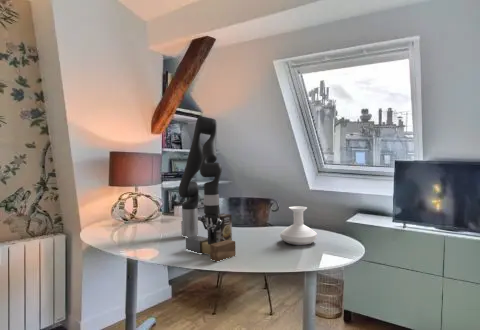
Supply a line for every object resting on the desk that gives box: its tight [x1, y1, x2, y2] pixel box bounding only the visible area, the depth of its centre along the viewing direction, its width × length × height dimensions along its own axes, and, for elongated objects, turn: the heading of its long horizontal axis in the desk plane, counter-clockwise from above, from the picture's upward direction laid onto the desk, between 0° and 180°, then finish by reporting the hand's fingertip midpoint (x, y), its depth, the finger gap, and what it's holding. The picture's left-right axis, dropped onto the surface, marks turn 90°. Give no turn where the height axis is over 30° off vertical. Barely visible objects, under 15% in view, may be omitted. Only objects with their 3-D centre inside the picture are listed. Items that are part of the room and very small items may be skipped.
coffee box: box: [214, 213, 233, 243], centre depth 185 cm, size 9×6×16 cm
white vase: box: [279, 205, 318, 246], centre depth 186 cm, size 20×20×19 cm
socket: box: [209, 240, 236, 262], centre depth 160 cm, size 5×12×7 cm, turn 139°
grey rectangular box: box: [185, 235, 208, 253], centre depth 172 cm, size 11×7×7 cm, turn 49°
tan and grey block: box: [201, 228, 217, 256], centre depth 167 cm, size 15×5×12 cm, turn 49°
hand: (212, 238), depth 164 cm, fingers closed on tan and grey block
